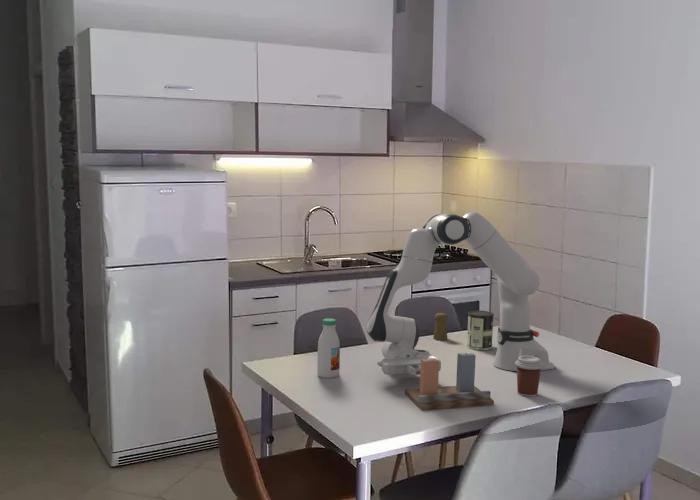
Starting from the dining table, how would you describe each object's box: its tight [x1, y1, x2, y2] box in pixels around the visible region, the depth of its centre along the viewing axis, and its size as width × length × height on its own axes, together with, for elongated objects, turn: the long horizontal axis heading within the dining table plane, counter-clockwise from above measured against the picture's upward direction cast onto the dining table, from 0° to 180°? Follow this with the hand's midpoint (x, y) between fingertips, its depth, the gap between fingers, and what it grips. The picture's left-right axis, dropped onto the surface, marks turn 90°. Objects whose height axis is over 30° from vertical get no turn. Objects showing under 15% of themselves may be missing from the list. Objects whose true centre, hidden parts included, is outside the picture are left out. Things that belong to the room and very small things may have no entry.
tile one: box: [419, 358, 440, 395], centre depth 232 cm, size 5×3×12 cm, turn 105°
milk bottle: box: [316, 317, 341, 379], centre depth 256 cm, size 8×8×20 cm
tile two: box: [455, 352, 476, 392], centre depth 239 cm, size 5×3×12 cm, turn 105°
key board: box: [404, 385, 495, 412], centre depth 235 cm, size 24×16×4 cm, turn 105°
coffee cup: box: [515, 356, 543, 398], centre depth 241 cm, size 9×9×12 cm
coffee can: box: [466, 310, 495, 351], centre depth 298 cm, size 10×10×14 cm
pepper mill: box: [432, 312, 448, 342], centre depth 310 cm, size 6×6×11 cm
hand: (418, 372), depth 241 cm, fingers closed
